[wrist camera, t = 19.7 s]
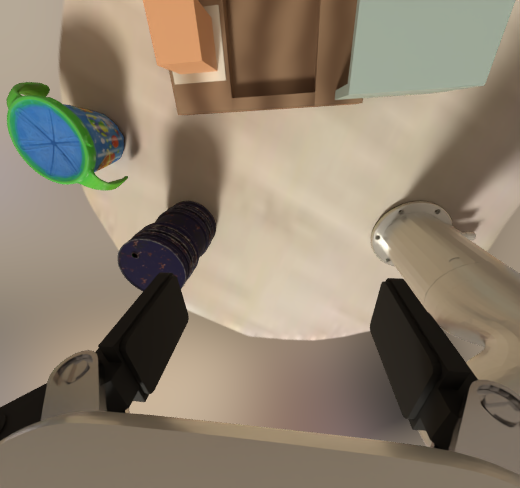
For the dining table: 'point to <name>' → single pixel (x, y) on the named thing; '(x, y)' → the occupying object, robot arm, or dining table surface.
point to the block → (181, 35)
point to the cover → (423, 46)
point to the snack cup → (62, 137)
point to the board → (272, 57)
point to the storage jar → (168, 245)
